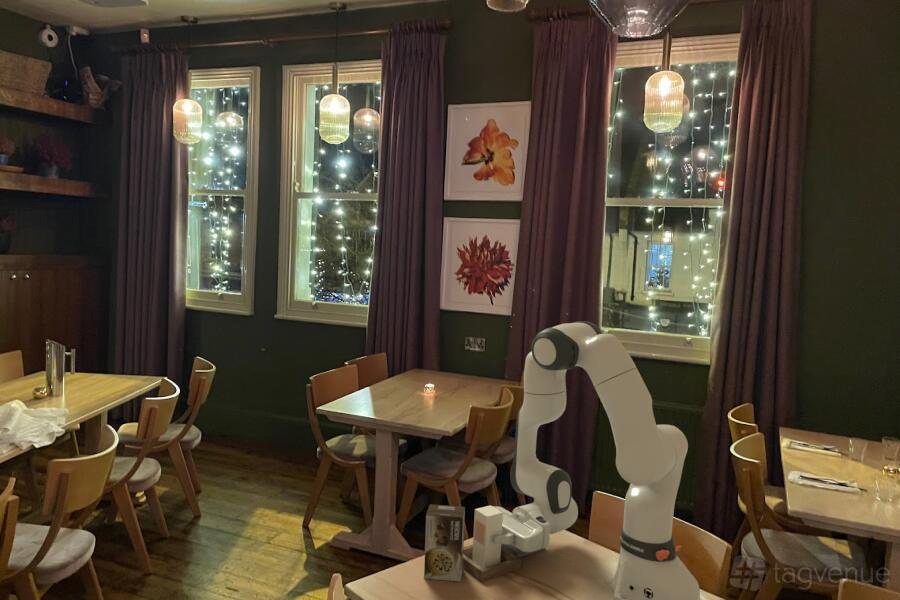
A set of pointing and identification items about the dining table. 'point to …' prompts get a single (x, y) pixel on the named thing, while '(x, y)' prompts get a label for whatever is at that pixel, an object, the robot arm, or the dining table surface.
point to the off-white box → (486, 536)
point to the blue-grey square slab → (517, 550)
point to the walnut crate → (492, 571)
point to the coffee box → (444, 542)
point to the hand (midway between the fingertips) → (484, 534)
